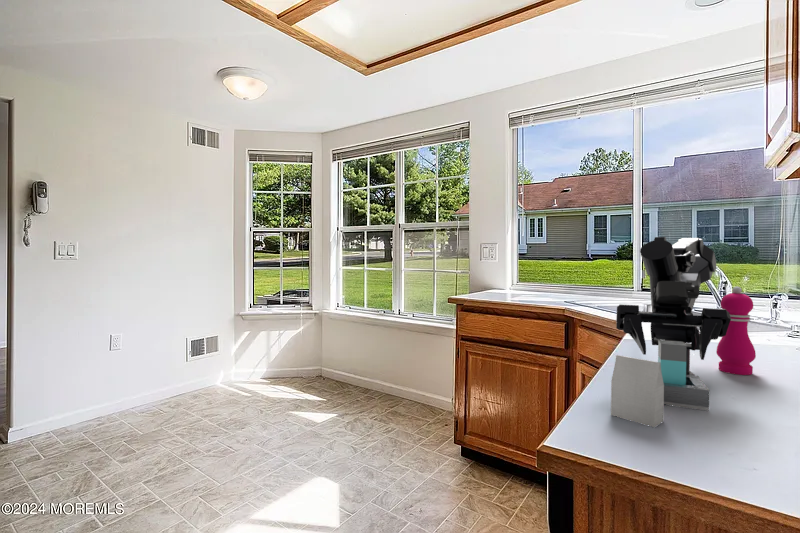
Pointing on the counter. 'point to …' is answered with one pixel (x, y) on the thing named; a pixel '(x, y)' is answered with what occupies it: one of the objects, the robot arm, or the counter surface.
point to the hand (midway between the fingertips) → (673, 355)
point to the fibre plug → (672, 361)
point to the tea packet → (637, 390)
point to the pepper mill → (736, 335)
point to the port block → (687, 394)
